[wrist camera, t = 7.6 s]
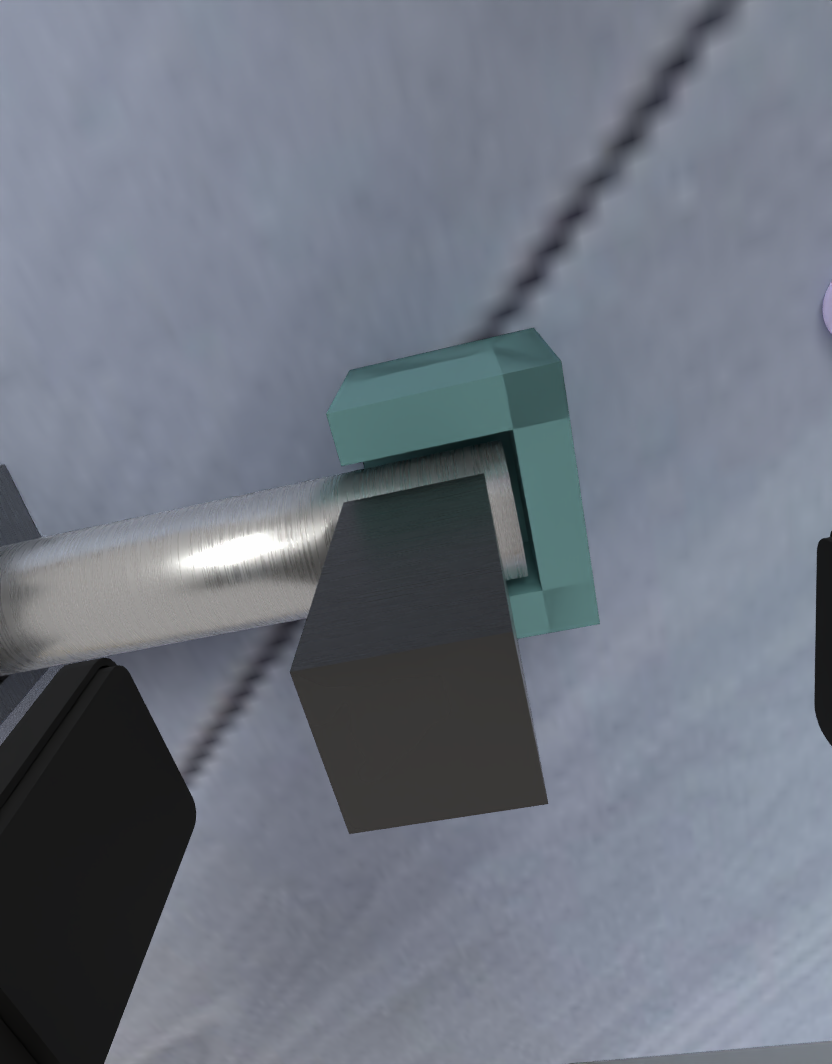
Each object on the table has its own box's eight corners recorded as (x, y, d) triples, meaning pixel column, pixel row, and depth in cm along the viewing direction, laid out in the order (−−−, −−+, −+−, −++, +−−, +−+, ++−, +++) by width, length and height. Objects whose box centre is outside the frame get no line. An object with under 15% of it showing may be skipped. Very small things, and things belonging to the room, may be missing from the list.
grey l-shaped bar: (496, 423, 17) (550, 617, 9) (518, 539, 18) (583, 804, 10) (-157, 564, 19) (-595, 826, 11) (-97, 660, 21) (-449, 959, 12)
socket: (533, 327, 19) (561, 361, 14) (568, 543, 21) (599, 624, 17) (350, 370, 19) (325, 414, 15) (404, 575, 22) (397, 660, 18)
